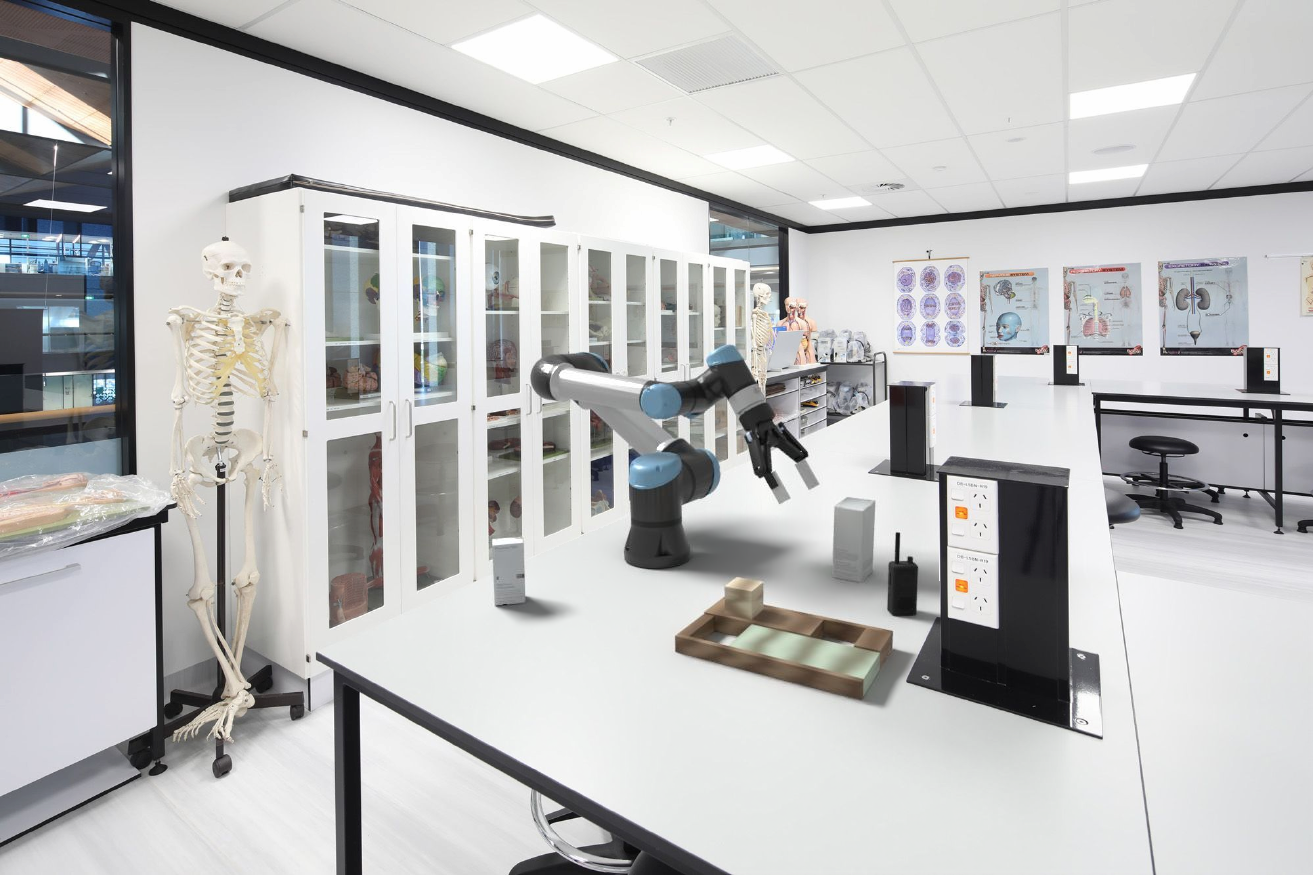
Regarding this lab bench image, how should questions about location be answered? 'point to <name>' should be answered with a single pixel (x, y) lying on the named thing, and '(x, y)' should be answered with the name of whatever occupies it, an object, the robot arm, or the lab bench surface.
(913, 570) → the walkie-talkie
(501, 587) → the skincare box
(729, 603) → the block
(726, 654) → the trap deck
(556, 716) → the lab bench surface
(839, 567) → the skincare box
